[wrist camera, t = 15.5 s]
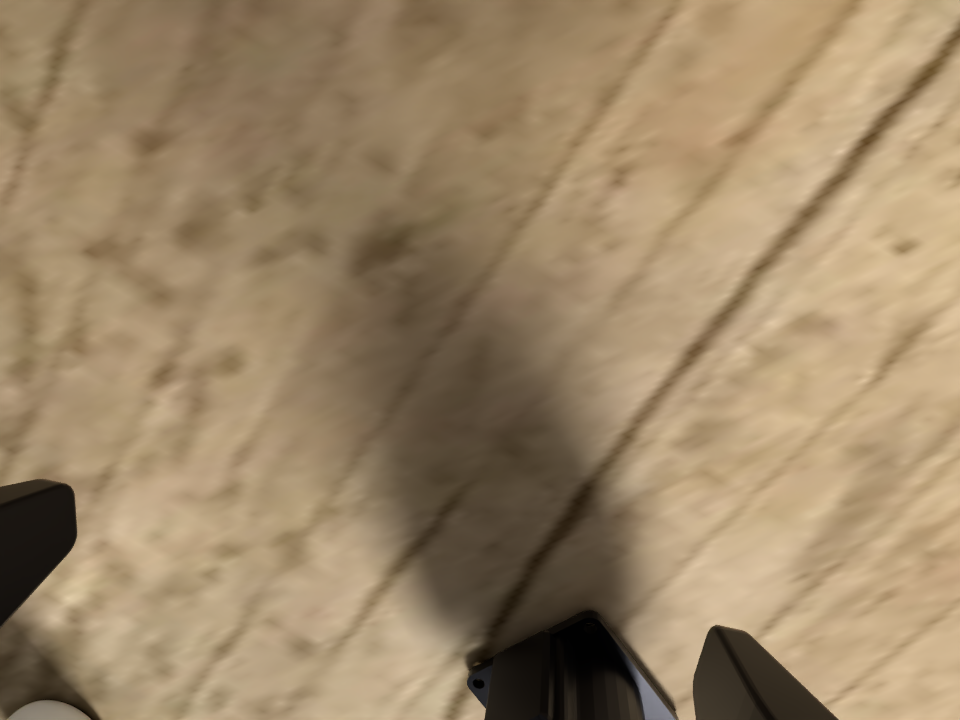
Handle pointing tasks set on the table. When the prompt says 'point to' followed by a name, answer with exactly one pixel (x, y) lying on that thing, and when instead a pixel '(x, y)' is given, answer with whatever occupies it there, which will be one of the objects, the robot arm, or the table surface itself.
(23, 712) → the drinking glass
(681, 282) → the table surface
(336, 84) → the table surface
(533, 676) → the robot arm
